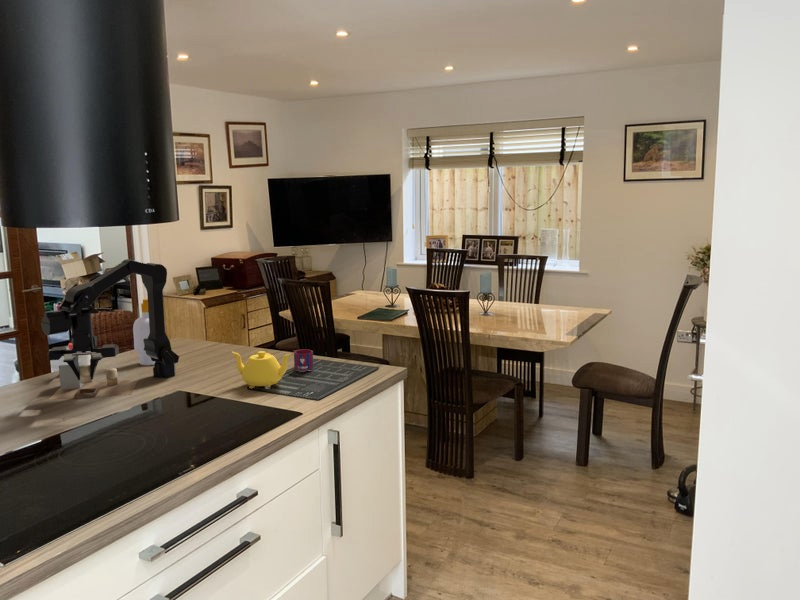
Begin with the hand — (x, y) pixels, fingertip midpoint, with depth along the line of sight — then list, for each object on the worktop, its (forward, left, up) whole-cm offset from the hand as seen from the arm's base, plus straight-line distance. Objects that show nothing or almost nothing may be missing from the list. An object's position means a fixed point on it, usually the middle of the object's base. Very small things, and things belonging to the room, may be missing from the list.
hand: (86, 379), depth 195 cm
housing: (+7, -10, -5) cm, 13 cm away
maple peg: (0, 0, -1) cm, 1 cm away
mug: (-68, -19, -7) cm, 71 cm away
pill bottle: (+9, -30, -7) cm, 32 cm away
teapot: (-53, -3, -7) cm, 53 cm away
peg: (-5, -9, -5) cm, 12 cm away
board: (-1, -5, -6) cm, 9 cm away
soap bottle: (-13, -39, -7) cm, 42 cm away
